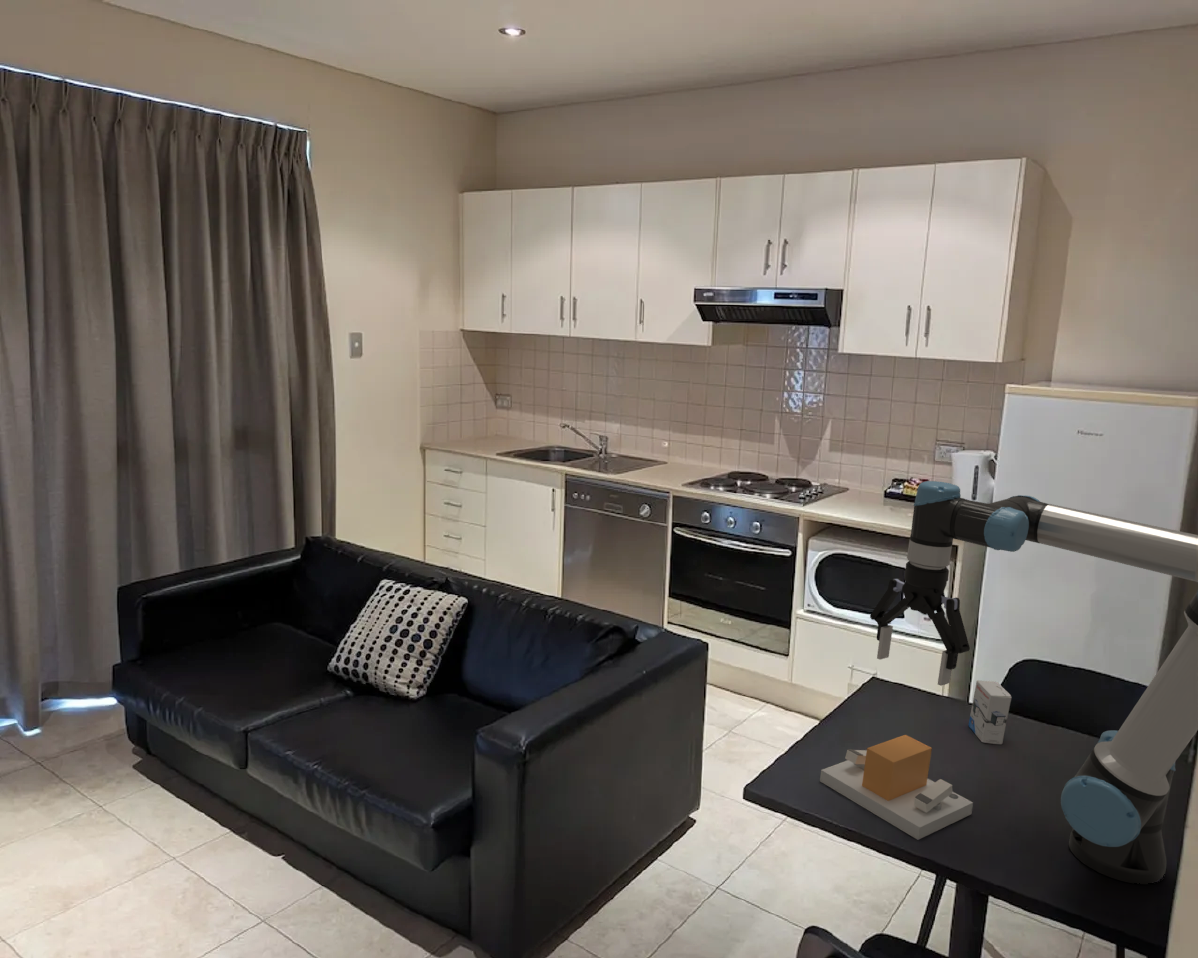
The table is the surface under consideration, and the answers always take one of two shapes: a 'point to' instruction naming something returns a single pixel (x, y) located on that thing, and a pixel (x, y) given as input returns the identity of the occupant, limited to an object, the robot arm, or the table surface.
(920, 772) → the brown block
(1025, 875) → the table surface
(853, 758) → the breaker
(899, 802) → the panel
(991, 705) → the ink box
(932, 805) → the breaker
